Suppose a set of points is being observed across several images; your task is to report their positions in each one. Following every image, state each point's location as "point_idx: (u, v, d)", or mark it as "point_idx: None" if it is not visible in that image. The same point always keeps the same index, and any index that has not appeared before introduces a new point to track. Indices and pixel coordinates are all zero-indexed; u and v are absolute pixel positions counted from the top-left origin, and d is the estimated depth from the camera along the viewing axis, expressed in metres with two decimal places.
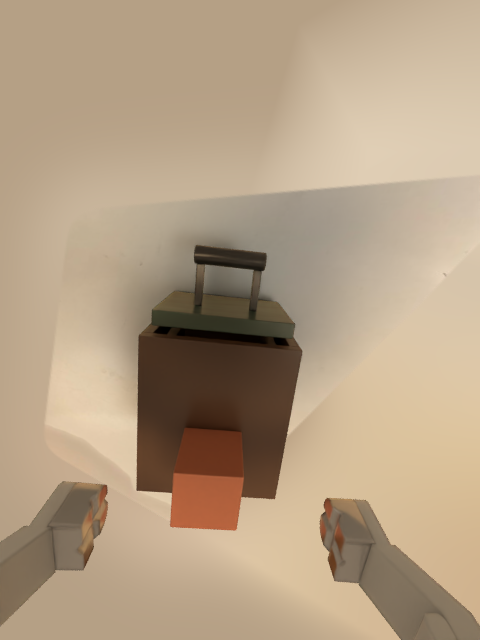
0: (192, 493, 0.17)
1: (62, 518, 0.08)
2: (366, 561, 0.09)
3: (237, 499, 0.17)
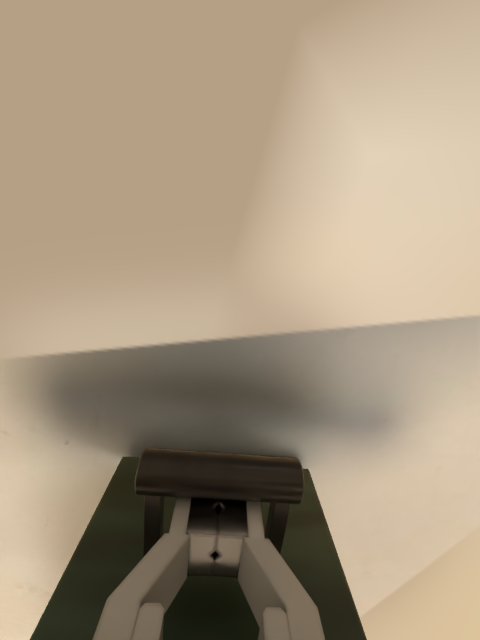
0: None
1: (196, 525, 0.08)
2: (241, 554, 0.08)
3: None
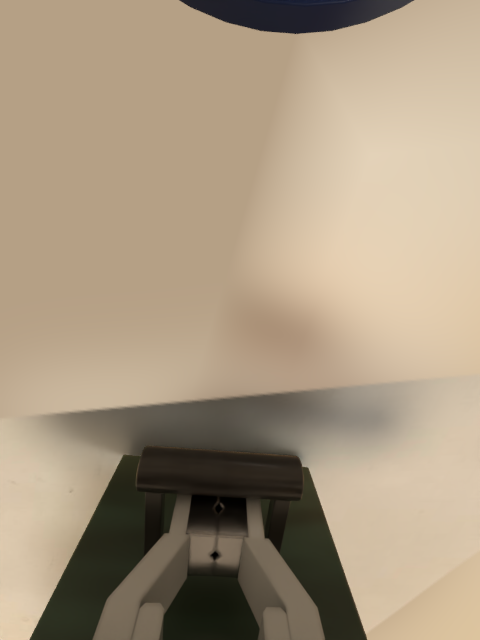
0: None
1: (196, 525, 0.08)
2: (241, 554, 0.08)
3: None
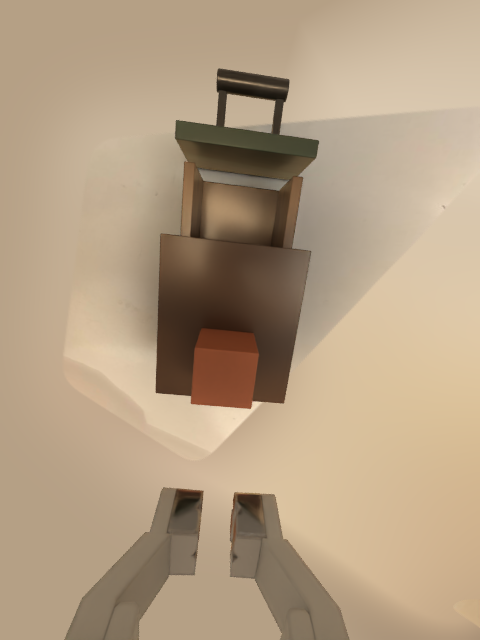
0: (212, 368, 0.19)
1: (177, 524, 0.08)
2: (259, 555, 0.08)
3: (252, 375, 0.19)
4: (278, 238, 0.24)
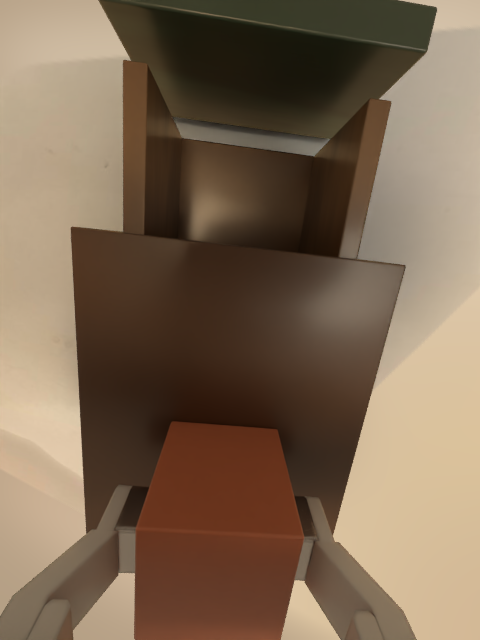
0: (183, 572, 0.07)
1: (126, 522, 0.08)
2: (310, 558, 0.09)
3: (286, 583, 0.08)
4: (320, 238, 0.13)
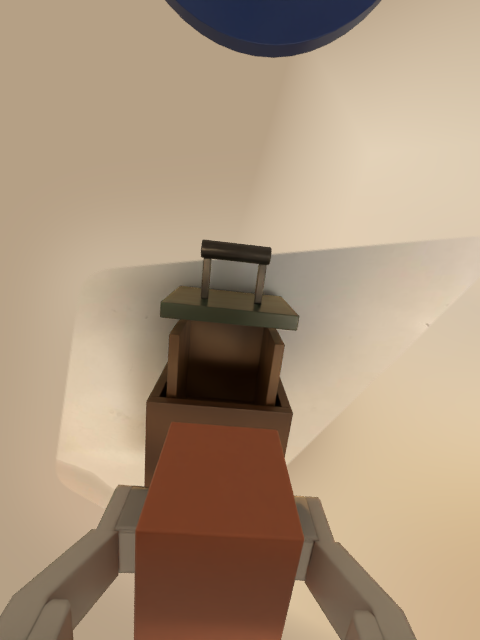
0: (183, 574, 0.07)
1: (126, 522, 0.08)
2: (311, 558, 0.09)
3: (286, 585, 0.08)
4: (263, 381, 0.25)
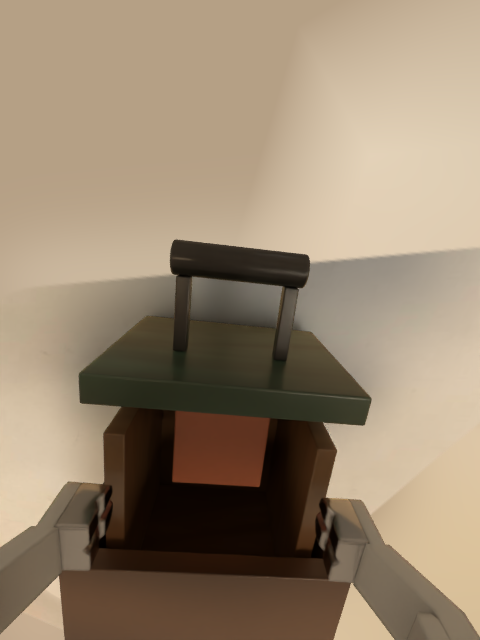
0: (202, 433, 0.13)
1: (68, 518, 0.08)
2: (360, 560, 0.09)
3: (262, 442, 0.13)
4: (286, 487, 0.14)
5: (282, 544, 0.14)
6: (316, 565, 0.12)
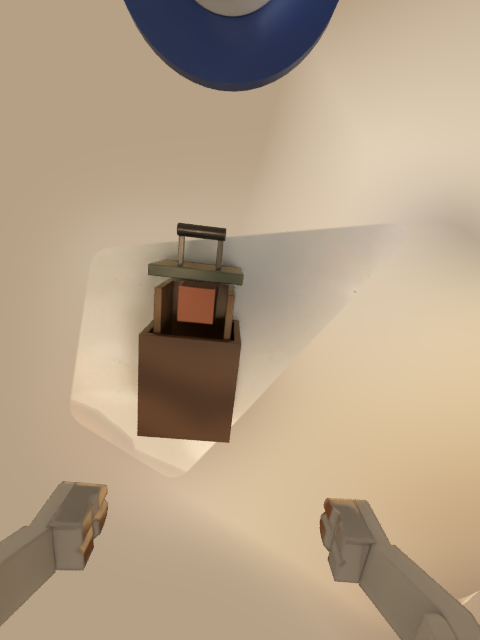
0: (188, 298, 0.33)
1: (61, 518, 0.08)
2: (366, 560, 0.09)
3: (212, 303, 0.33)
4: (224, 326, 0.35)
5: None
6: (229, 341, 0.32)
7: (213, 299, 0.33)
